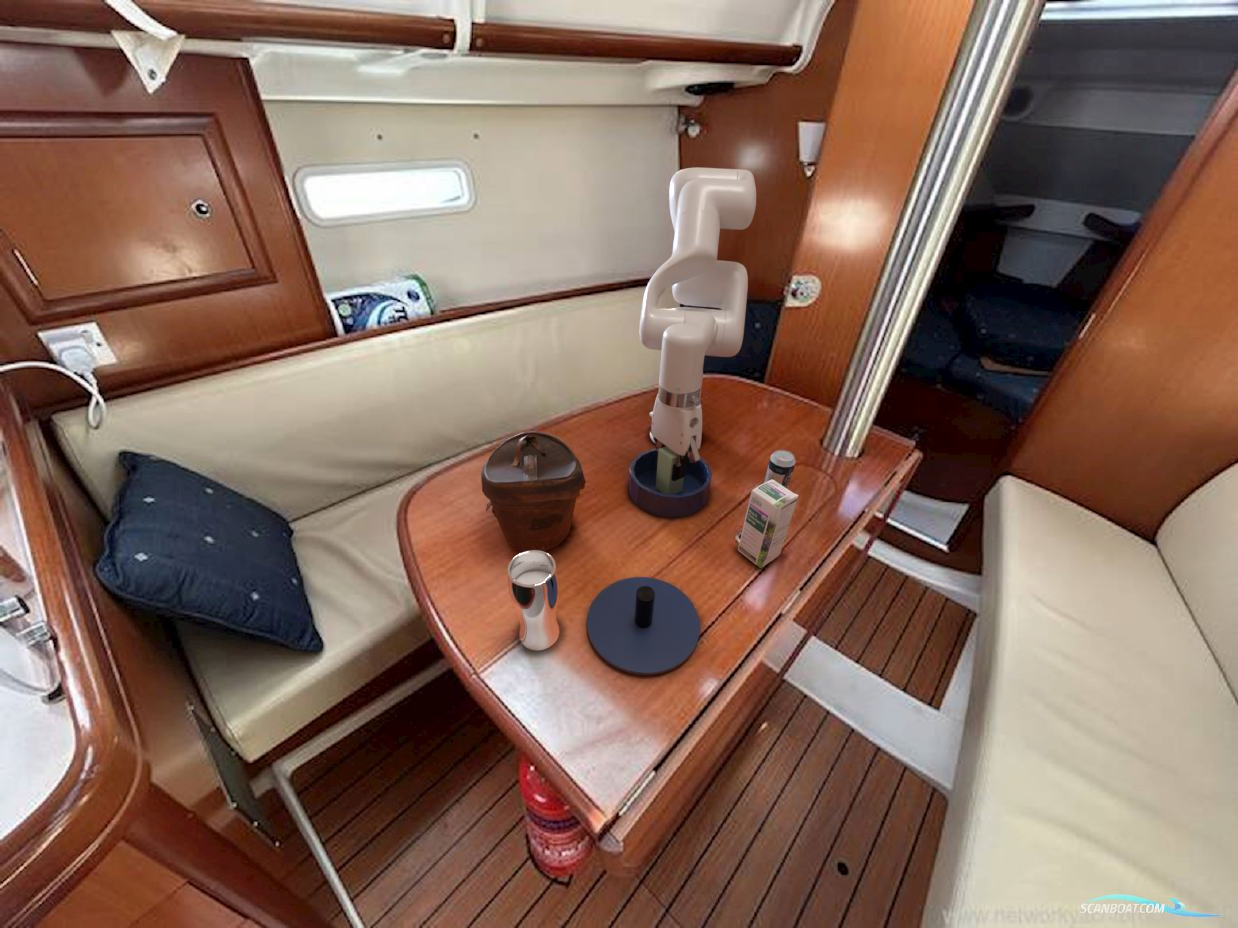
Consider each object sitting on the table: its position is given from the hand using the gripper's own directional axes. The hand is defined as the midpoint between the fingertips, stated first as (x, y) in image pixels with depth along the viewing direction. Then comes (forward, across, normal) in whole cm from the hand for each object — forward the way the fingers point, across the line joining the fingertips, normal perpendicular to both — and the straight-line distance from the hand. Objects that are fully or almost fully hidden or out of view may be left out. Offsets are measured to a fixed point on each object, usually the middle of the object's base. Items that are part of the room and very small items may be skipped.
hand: (670, 471), depth 103 cm
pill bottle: (+5, -15, -15) cm, 22 cm away
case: (+5, +6, +28) cm, 29 cm away
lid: (+4, -23, +25) cm, 34 cm away
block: (+5, 0, 0) cm, 5 cm away
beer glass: (+5, -15, +39) cm, 42 cm away
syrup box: (+5, -23, -2) cm, 24 cm away
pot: (+5, 0, 0) cm, 5 cm away
